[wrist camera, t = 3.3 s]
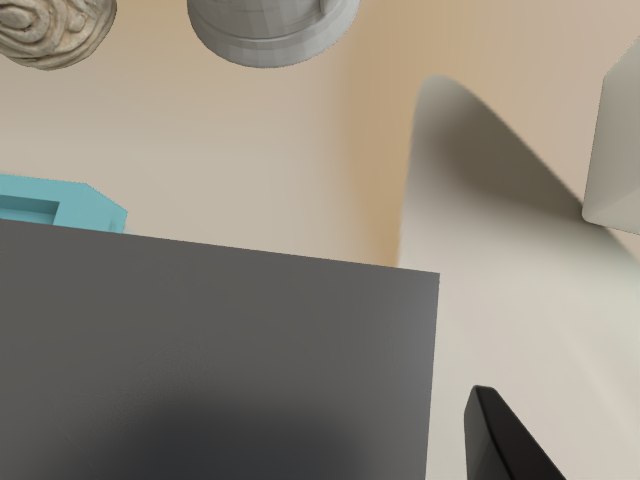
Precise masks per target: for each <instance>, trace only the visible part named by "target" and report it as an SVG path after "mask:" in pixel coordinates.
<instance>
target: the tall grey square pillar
mask: <svg viewBox="0 0 640 480" xmlns="http://www.w3.org/2000/svg"><path fill="white" fill-rule="evenodd" d="M439 277H440V273H434V272H426V271H418V270H410V269H402V268H394V267H386V266H378V265H370V264H362V263H354V262H346V261H337V260H330V259H322V258H313V257H306V256H298V255H290V254H282V253H273V252H266V251H258V250H249V249H242V248H234V247H225V246H217V245H210V244H202V243H194V242H186V241H177V240H170V239H162V238H153V237H146V236H138V235H130V234H122V233H114V232H106V231H98V230H90V229H82V228H74V227H66V226H58V225H50V224H42V223H34V222H26V221H18V220H10V219H2V218H0V480H425V474H426V460H427V446H428V432H429V418H430V404H431V390H432V376H433V362H434V348H435V334H436V319H437V305H438V291H439Z"/></svg>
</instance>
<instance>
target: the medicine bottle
mask: <svg viewBox="0 0 640 480" xmlns="http://www.w3.org/2000/svg"><path fill="white" fill-rule="evenodd" d="M582 217H583V218H584V220H585V221H587V222H590V223H594V224H598V225H602V226H606V227H610V228H614V229H618V230H622V231H626V232H630V233H634V234H638V235H640V36H639V37H638V38H637V39H636V41H635V42H634V43H633V44H632V45H631V46H630V47H629V48H628V49H627V51H626V52H625V53H624V54H623V55H622V56H621V57H620V58H619V59H618V61H617V62H616V63H615V64H614V65H613V66H612V67H611V68H610V70H609V71H608V72H607V73H606V75H605V77H604V80H603V87H602V93H601V99H600V105H599V111H598V117H597V123H596V129H595V135H594V141H593V148H592V154H591V160H590V166H589V173H588V178H587V185H586V190H585V197H584V203H583V209H582Z"/></svg>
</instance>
